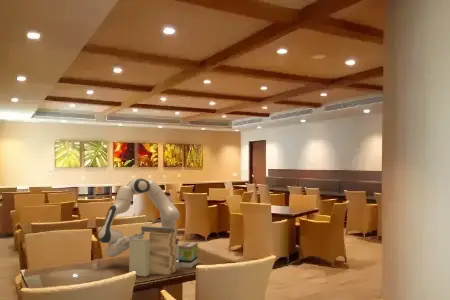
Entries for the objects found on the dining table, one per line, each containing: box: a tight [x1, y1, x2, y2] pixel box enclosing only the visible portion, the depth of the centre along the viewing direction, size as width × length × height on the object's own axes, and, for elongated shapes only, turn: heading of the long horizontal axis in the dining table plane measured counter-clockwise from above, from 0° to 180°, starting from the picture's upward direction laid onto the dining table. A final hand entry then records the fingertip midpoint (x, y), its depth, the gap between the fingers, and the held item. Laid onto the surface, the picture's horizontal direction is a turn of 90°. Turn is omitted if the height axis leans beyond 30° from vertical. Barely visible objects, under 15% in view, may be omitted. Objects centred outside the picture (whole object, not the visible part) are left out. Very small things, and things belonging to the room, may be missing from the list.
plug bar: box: [140, 225, 173, 233], centre depth 269 cm, size 3×22×3 cm, turn 68°
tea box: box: [177, 241, 199, 269], centre depth 285 cm, size 15×10×15 cm, turn 168°
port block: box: [128, 238, 150, 277], centre depth 260 cm, size 4×12×22 cm, turn 68°
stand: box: [148, 230, 177, 276], centre depth 267 cm, size 10×14×28 cm
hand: (140, 233), depth 274 cm, fingers open, 8 cm apart
